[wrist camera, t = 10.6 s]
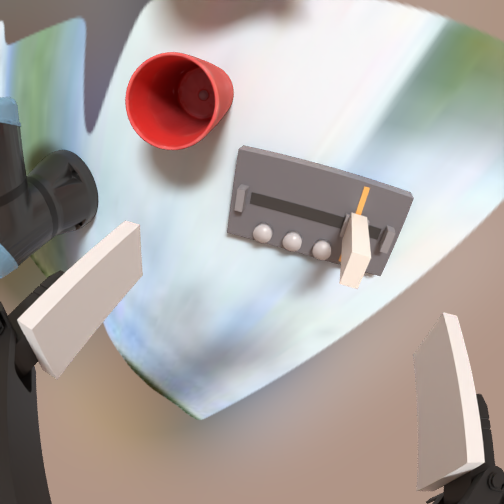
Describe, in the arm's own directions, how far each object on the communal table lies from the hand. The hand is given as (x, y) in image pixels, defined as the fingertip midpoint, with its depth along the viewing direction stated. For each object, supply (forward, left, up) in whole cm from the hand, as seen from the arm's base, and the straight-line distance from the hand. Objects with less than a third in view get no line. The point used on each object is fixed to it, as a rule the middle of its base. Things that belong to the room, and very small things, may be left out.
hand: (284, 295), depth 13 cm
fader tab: (+6, -9, -26) cm, 29 cm away
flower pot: (-16, +3, -29) cm, 33 cm away
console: (+1, -9, -29) cm, 30 cm away
